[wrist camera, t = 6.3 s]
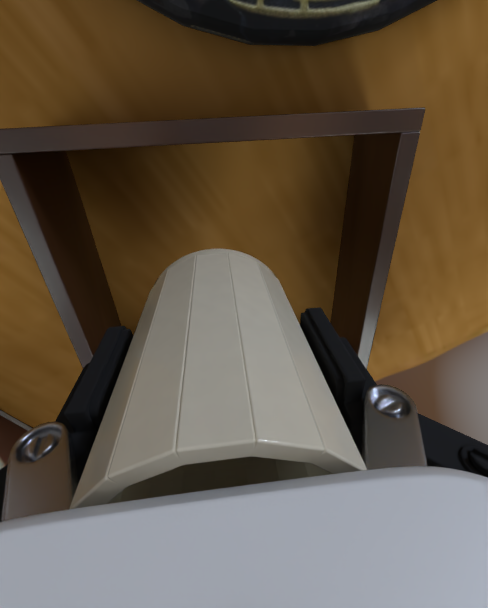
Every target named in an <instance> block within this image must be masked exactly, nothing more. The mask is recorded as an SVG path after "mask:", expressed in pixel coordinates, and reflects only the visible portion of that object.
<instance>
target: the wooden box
mask: <svg viewBox="0 0 488 608" xmlns="http://www.w3.org/2000/svg"><path fill="white" fill-rule="evenodd" d="M424 113H425V108H405V109H385V110H365V111H345V112H325V113H305V114H285V115H265V116H246V117H226V118H206V119H186V120H166V121H146V122H126V123H106V124H86V125H66V126H46V127H26V128H6V129H0V180H1V182H2V184H3V187H4V189H5V191H6V194H7V196H8V198H9V200H10V203H11V205H12V207H13V210H14V212H15V214H16V216H17V219H18V221H19V223H20V226H21V228H22V230H23V232H24V235H25V237H26V239H27V242H28V244H29V246H30V248H31V251H32V253H33V255H34V257H35V260H36V262H37V264H38V267H39V269H40V271H41V273H42V276H43V278H44V280H45V283H46V285H47V287H48V289H49V292H50V294H51V296H52V299H53V301H54V303H55V305H56V308H57V310H58V312H59V315H60V317H61V319H62V321H63V324H64V326H65V328H66V331H67V333H68V335H69V337H70V340H71V342H72V344H73V347H74V349H75V351H76V353H77V356H78V358H79V360H80V363H81V365H82V367H83V368H84V367H85V365H86V364H88V363H90V361H91V359H92V358H93V356H94V354H95V352H96V350H97V348H98V346H99V344H100V342H101V340H102V338H103V336H104V334H105V332H106V331H107V329H108V328H109V327H118V326H121V324H120V321H119V318H118V315H117V311H116V308H115V305H114V302H113V299H112V296H111V293H110V289H109V286H108V283H107V280H106V277H105V274H104V271H103V267H102V264H101V261H100V258H99V255H98V252H97V248H96V245H95V242H94V239H93V236H92V233H91V230H90V226H89V223H88V220H87V217H86V214H85V211H84V208H83V204H82V201H81V198H80V195H79V192H78V189H77V185H76V182H75V179H74V176H73V173H72V170H71V167H70V163H69V160H68V157H67V154H66V151H72V150H90V149H108V148H127V147H145V146H164V145H182V144H200V143H219V142H237V141H255V140H274V139H292V138H310V137H329V136H347V135H355V137H354V145H353V153H352V161H351V168H350V176H349V184H348V192H347V200H346V207H345V215H344V223H343V231H342V239H341V247H340V254H339V262H338V270H337V278H336V286H335V294H334V301H333V309H332V317H331V325H332V326H333V328H334V329H335V331H336V333H337V334H338V336H339V337H344V338H346V339H347V340H348V342H349V343H350V345H351V346H352V348H353V349H354V351H355V352H356V354H357V356H358V357H359V359H360V360H361V362H362V363H363V365H364V366H365V368H366V369H367V365H368V361H369V356H370V352H371V347H372V343H373V339H374V334H375V330H376V325H377V321H378V316H379V312H380V308H381V303H382V299H383V294H384V290H385V285H386V281H387V277H388V272H389V268H390V263H391V259H392V254H393V250H394V246H395V241H396V237H397V232H398V228H399V223H400V219H401V215H402V210H403V206H404V201H405V197H406V192H407V188H408V184H409V179H410V175H411V170H412V166H413V161H414V157H415V153H416V148H417V144H418V139H419V135H420V132H419V131H420V130H421V126H422V121H423V117H424Z"/></svg>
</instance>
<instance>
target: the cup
mask: <svg viewBox="0 0 488 608" xmlns="http://www.w3.org/2000/svg"><path fill="white" fill-rule="evenodd" d="M364 470H367V468H366V466H365V464H364V461H363V459H362V457H361V455H360V453H359V451H358V449H357V446H356V444H355V442H354V440H353V438H352V436H351V434H350V432H349V429H348V427H347V425H346V423H345V421H344V419H343V417H342V414H341V412H340V410H339V408H338V406H337V404H336V402H335V399H334V397H333V395H332V393H331V391H330V389H329V387H328V384H327V382H326V380H325V378H324V376H323V374H322V372H321V369H320V367H319V365H318V363H317V361H316V359H315V357H314V354H313V352H312V350H311V348H310V346H309V344H308V342H307V339H306V337H305V335H304V333H303V331H302V329H301V327H300V324H299V322H298V320H297V318H296V316H295V314H294V312H293V309H292V307H291V305H290V303H289V301H288V299H287V297H286V295H285V292H284V290H283V288H282V286H281V284H280V282H279V280H278V279H277V277H276V276H275V275H274V273H273V272H272V271H271V270H270V269H269V268H268V267H267V266H266V265H265V264H263V263H262V262H261V261H259V260H258V259H256V258H254V257H252V256H250V255H248V254H245V253H242V252H239V251H235V250H229V249H208V250H201V251H198V252H194V253H191V254H188V255H186V256H184V257H182V258H180V259H178V260H177V261H175V262H174V263H172V264H171V265H170V266H169V267H167V268H166V269H165V270H164V271H163V272H162V274H161V275H160V276H159V278H158V279H157V280H156V282H155V284H154V286H153V288H152V289H151V291H150V293H149V296H148V298H147V301H146V304H145V306H144V309H143V312H142V314H141V317H140V320H139V322H138V325H137V328H136V331H135V333H134V336H133V339H132V341H131V344H130V347H129V349H128V352H127V355H126V357H125V360H124V363H123V365H122V368H121V371H120V374H119V376H118V379H117V382H116V384H115V387H114V390H113V392H112V395H111V398H110V400H109V403H108V406H107V408H106V411H105V414H104V417H103V419H102V422H101V425H100V427H99V430H98V433H97V435H96V438H95V441H94V443H93V446H92V449H91V452H90V454H89V457H88V460H87V462H86V465H85V468H84V470H83V473H82V476H81V478H80V481H79V484H78V486H77V489H76V492H75V495H74V497H73V500H72V503H71V505H70V508H69V509H75V508H82V507H88V506H95V505H103V504H110V503H117V502H124V501H132V500H139V499H146V498H153V497H161V496H168V495H175V494H183V493H190V492H198V491H205V490H213V489H221V488H228V487H236V486H243V485H251V484H259V483H266V482H274V481H282V480H290V479H298V478H306V477H313V476H321V475H329V474H337V473H345V472H355V471H364Z"/></svg>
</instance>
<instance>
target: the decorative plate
mask: <svg viewBox="0 0 488 608" xmlns="http://www.w3.org/2000/svg"><path fill="white" fill-rule="evenodd" d="M137 1H139V2H141V3H143V4H144V5H146V6H148V7H150V8H152V9H153V10H155V11H157V12H159V13H161V14H163V15H164V16H166V17H168V18H170V19H172V20H174V21H175V22H177V23H179V24H181V25H183V26H186V27H189V28H193V29H197V30H200V31H204V32H207V33H211V34H214V35H218V36H221V37H225V38H229V39H232V40H236V41H239V42H243V43H246V44H250V45H298V46H316V45H320V44H324V43H328V42H332V41H336V40H340V39H345V38H349V37H353V36H357V35H361V34H365V33H369V32H373V31H377V30H380V29H382V28H384V27H386V26H388V25H390V24H392V23H394V22H396V21H397V20H399V19H401V18H403V17H405V16H407V15H409V14H411V13H413V12H415V11H417V10H419V9H421V8H423V7H425V6H427V5H429V4H431V3H433V2H435V1H437V0H137Z"/></svg>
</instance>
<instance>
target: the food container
mask: <svg viewBox="0 0 488 608" xmlns="http://www.w3.org/2000/svg"><path fill="white" fill-rule="evenodd" d="M30 429H32V428H31V427H29V426H27V425H26V424H24V423H22V422H20V421H18V420H17V419H15V418H13V417H11V416H10V415H8V414H6V413H4V412H3V411H1V410H0V469H1V468H3V467H4V466H6V465H7V464H8V458H9V454H10V451H11V449H12V447H13V446H14V444H15V443H16V441H17V440H18V439H19V438H20V437H21V436H22V435H23V434H25V433H26V432H28V431H29V430H30Z"/></svg>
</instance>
